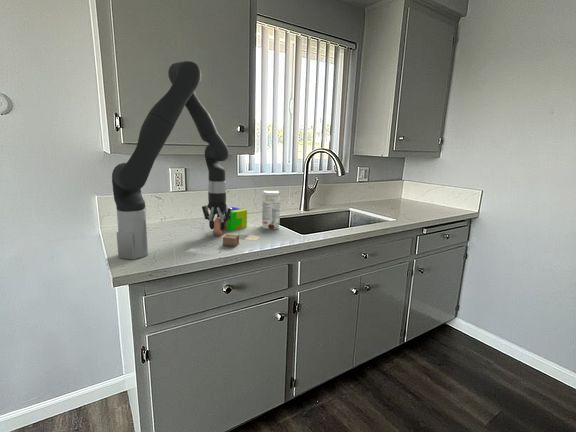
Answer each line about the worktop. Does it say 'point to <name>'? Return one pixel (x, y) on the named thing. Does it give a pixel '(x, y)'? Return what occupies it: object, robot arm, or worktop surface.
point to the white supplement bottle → (271, 209)
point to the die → (230, 240)
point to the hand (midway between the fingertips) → (217, 229)
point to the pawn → (217, 226)
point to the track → (239, 236)
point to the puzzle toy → (236, 219)
